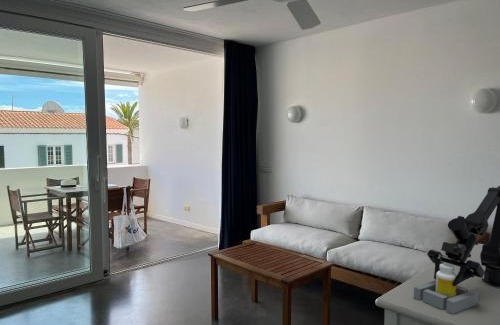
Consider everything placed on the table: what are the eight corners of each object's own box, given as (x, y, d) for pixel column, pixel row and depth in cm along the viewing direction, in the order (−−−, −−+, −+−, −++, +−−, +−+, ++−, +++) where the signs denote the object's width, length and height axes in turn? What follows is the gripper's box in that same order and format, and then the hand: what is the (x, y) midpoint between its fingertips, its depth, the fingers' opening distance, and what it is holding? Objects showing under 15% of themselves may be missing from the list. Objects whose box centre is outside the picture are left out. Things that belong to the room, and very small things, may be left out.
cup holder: (438, 289, 150) (439, 279, 149) (478, 304, 137) (478, 292, 136) (413, 297, 142) (414, 287, 142) (453, 314, 129) (453, 302, 129)
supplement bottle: (458, 305, 135) (460, 269, 134) (438, 304, 137) (439, 268, 136) (452, 297, 142) (454, 263, 141) (433, 296, 143) (434, 262, 142)
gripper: (430, 228, 147) (411, 261, 143) (481, 240, 132) (461, 278, 127) (442, 245, 152) (423, 278, 147) (492, 259, 136) (473, 296, 131)
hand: (443, 282), depth 138 cm, fingers closed on supplement bottle, 7 cm apart
